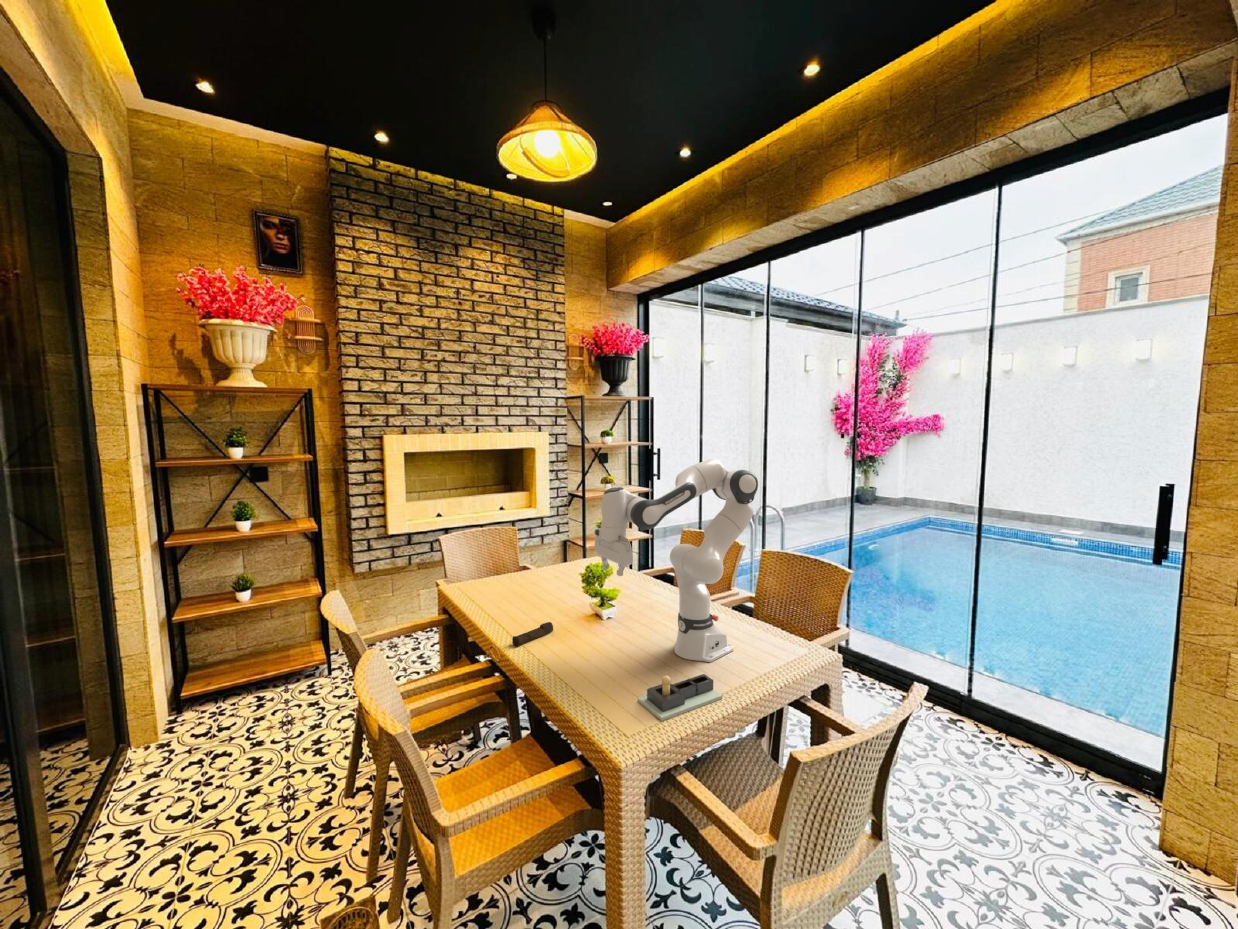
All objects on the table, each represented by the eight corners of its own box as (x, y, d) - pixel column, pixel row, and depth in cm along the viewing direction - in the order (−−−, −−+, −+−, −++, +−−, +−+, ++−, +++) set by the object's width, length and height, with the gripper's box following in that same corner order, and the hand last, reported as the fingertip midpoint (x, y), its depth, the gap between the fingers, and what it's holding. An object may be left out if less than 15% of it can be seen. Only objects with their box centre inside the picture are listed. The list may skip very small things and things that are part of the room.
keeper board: (696, 681, 162) (697, 655, 162) (722, 698, 152) (723, 670, 151) (638, 701, 150) (638, 672, 150) (661, 721, 140) (662, 690, 139)
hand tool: (517, 648, 186) (517, 636, 185) (511, 645, 188) (511, 633, 188) (557, 634, 199) (557, 622, 199) (551, 631, 202) (551, 620, 202)
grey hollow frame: (662, 712, 143) (663, 701, 143) (647, 699, 150) (647, 688, 149) (717, 692, 154) (717, 682, 153) (700, 681, 160) (700, 671, 160)
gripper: (637, 538, 168) (636, 578, 169) (606, 527, 186) (606, 564, 187) (621, 540, 165) (620, 581, 166) (591, 529, 182) (591, 566, 183)
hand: (612, 572), depth 176 cm, fingers open, 8 cm apart
